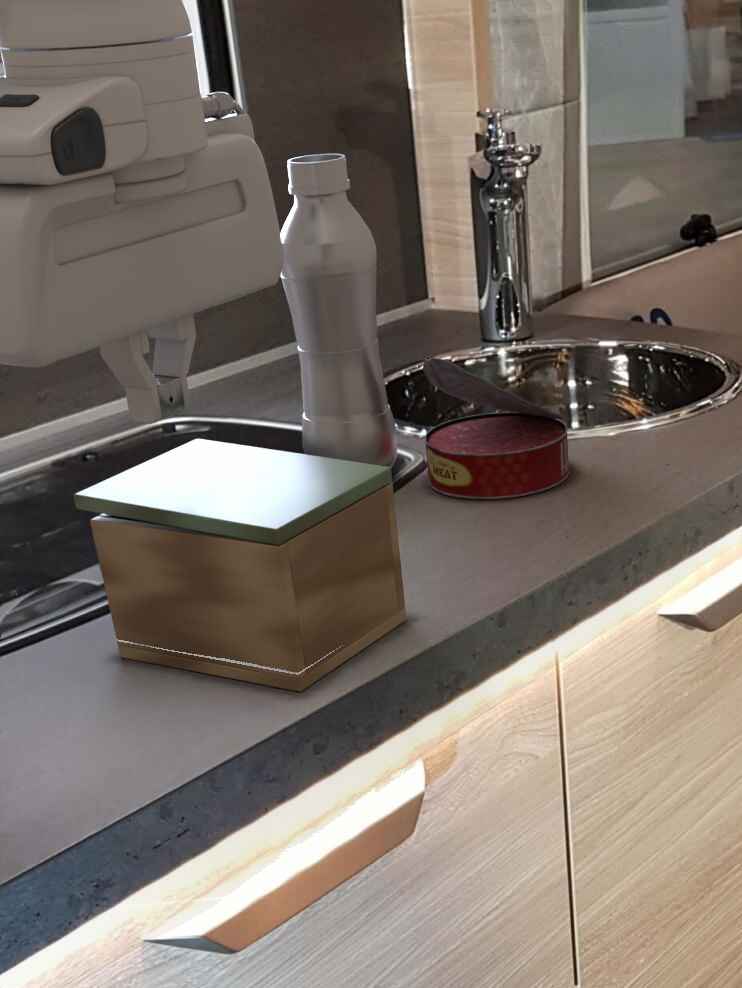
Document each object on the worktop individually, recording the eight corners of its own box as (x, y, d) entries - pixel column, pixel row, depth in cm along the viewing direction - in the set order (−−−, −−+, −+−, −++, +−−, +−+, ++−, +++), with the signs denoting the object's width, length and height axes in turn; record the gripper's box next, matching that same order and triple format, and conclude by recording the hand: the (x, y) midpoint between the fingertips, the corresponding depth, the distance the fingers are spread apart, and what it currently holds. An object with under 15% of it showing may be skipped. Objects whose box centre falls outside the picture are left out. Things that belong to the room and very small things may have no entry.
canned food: (439, 534, 112) (413, 392, 111) (575, 506, 112) (550, 364, 110) (430, 506, 101) (400, 348, 100) (581, 476, 101) (554, 317, 99)
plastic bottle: (417, 479, 108) (387, 155, 96) (329, 500, 106) (287, 170, 94) (377, 458, 113) (343, 146, 101) (292, 478, 110) (247, 160, 98)
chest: (119, 657, 86) (89, 519, 81) (233, 591, 93) (211, 461, 88) (300, 692, 80) (279, 546, 76) (407, 619, 87) (393, 482, 83)
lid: (75, 509, 81) (72, 494, 81) (199, 452, 88) (196, 437, 88) (278, 545, 76) (276, 529, 75) (392, 481, 83) (391, 466, 82)
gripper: (196, 86, 81) (235, 362, 90) (-99, 143, 68) (-21, 464, 76) (292, 86, 79) (323, 372, 87) (6, 146, 65) (75, 479, 73)
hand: (161, 416), depth 81 cm, fingers closed
